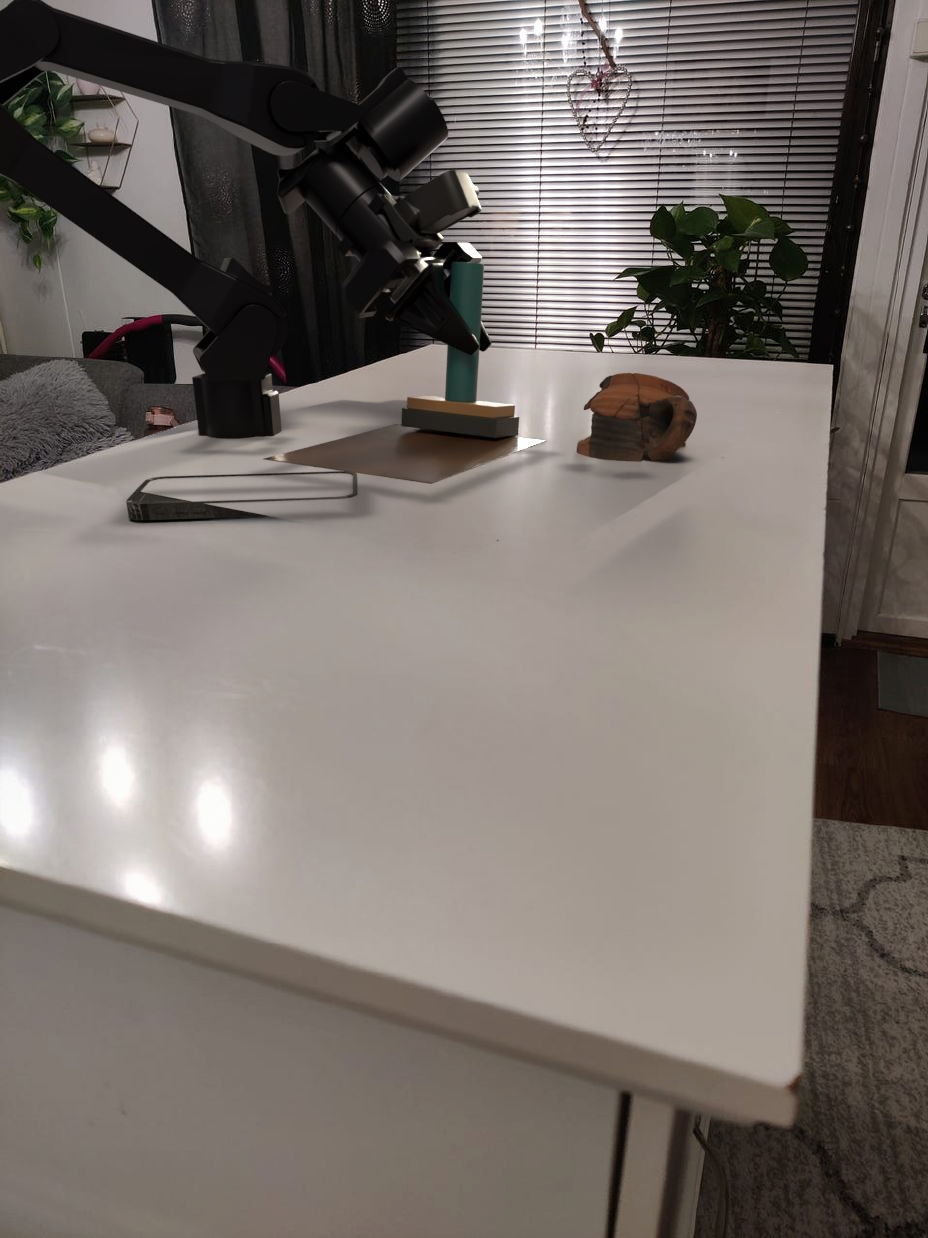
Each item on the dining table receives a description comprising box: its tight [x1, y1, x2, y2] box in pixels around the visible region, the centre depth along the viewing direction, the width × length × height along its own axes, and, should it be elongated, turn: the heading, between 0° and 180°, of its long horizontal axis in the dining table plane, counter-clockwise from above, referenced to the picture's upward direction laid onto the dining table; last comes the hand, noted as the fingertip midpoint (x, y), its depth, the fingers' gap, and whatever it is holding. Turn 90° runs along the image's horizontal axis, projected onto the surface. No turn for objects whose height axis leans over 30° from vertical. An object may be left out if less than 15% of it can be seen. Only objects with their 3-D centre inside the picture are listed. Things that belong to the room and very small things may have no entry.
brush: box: [400, 262, 520, 438], centre depth 77 cm, size 10×4×14 cm, turn 58°
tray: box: [263, 423, 547, 485], centre depth 73 cm, size 16×18×1 cm
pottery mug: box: [576, 372, 698, 463], centre depth 71 cm, size 12×10×8 cm
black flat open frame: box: [125, 470, 358, 521], centre depth 61 cm, size 8×1×15 cm
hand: (482, 349), depth 76 cm, fingers closed on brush, 3 cm apart
